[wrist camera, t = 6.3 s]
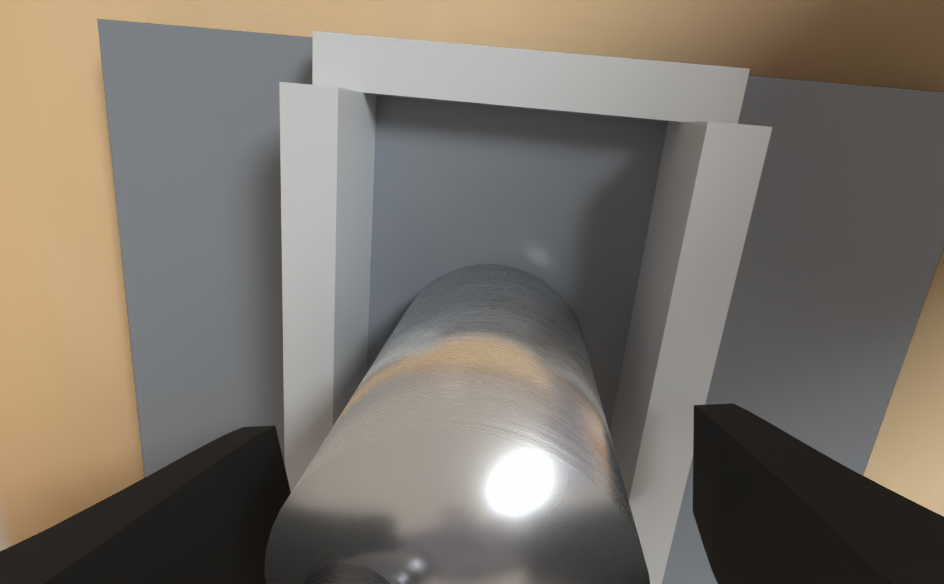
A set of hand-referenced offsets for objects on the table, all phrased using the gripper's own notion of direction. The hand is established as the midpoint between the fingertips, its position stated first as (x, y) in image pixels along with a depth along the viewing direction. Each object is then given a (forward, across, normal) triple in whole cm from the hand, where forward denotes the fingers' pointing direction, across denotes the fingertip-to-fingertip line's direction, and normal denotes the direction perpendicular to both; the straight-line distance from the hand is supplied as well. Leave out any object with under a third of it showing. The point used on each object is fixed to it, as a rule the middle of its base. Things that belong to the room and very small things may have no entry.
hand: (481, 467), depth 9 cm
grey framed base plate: (+5, 0, 0) cm, 5 cm away
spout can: (+4, 0, 0) cm, 4 cm away
